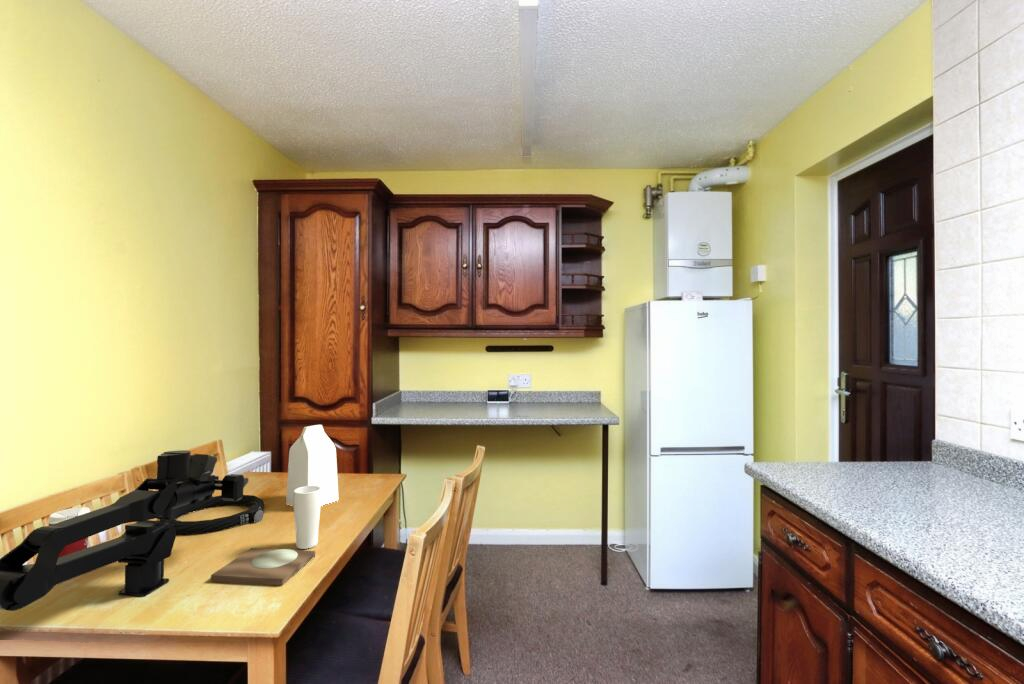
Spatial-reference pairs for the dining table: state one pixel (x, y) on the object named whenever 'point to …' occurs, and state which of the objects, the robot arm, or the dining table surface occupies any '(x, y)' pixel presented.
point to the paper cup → (67, 515)
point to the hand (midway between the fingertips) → (232, 479)
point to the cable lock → (220, 523)
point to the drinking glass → (307, 515)
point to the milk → (313, 465)
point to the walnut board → (263, 566)
